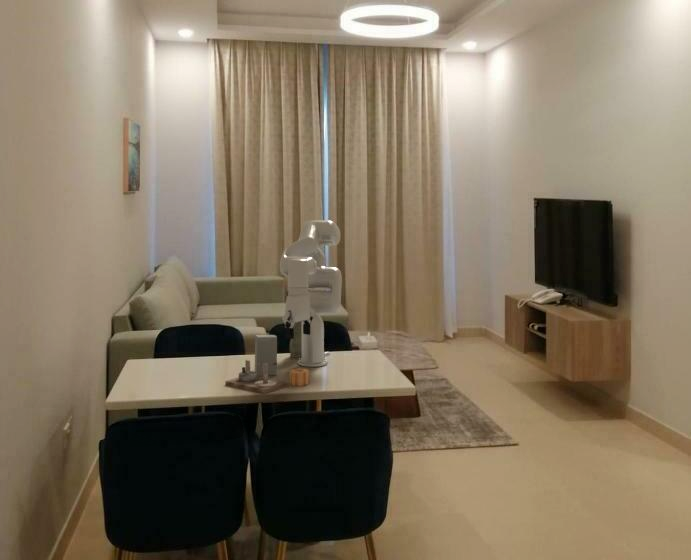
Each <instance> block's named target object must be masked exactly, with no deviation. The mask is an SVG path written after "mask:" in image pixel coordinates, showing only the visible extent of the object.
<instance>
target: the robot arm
mask: <svg viewBox="0 0 691 560" xmlns="http://www.w3.org/2000/svg"><path fill="white" fill-rule="evenodd" d="M340 241H341V230H340V228H339V226H338V225H337V224H336V222H334V221H332V220H325V219H324V220H318V219H317V220H316V219H315V220H307V221H305V222H303V224H302V226H301V229H300V232H299V235H298V239H297V240H295V242H292V243H291V244H290V245H288V246H287V247H286V248H285V249H284V250H283V252H282V254H281V257H280V262H279V272H280V273H281V275H283V276H286V277H288V279H287V282H288V289H287V291H288V296H287V299H286V298H285V310H284V312H285V313H284V315H283V316H282V318H281V320H282V322H283V325H284V328H285V329H286V330H285V331H286V332H285V335H286V339H290V340H291V339H293V338H294V328H293V325H294V323H296V322H301V333H302V359H298V361H297V364H298V365H299V366H302V367H310V368H315V367H317V368H319V367H323V366H327V364H328V360H327V359H326V357H330V355H331V353H330V352H329V351H325V347H324V346H325V341H324V339H325V327H324V325H325V324H324V320H323V318H322V317H321V316H320V315H319V314H337V313H338V312H340V309H341V302H342V301H341V300H342V284H343V283H342V282H343V281H342V279H343V278H342V272H341V270H340V268H337V267H333V266H326V262H327V257H326V255H325V253H324V252H323V251H322V249H321V248H319V246H324V247H325V246H331V247H332V246H337V245H338V244H340ZM308 289H309V291H308ZM312 289H313V290H312Z"/></svg>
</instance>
